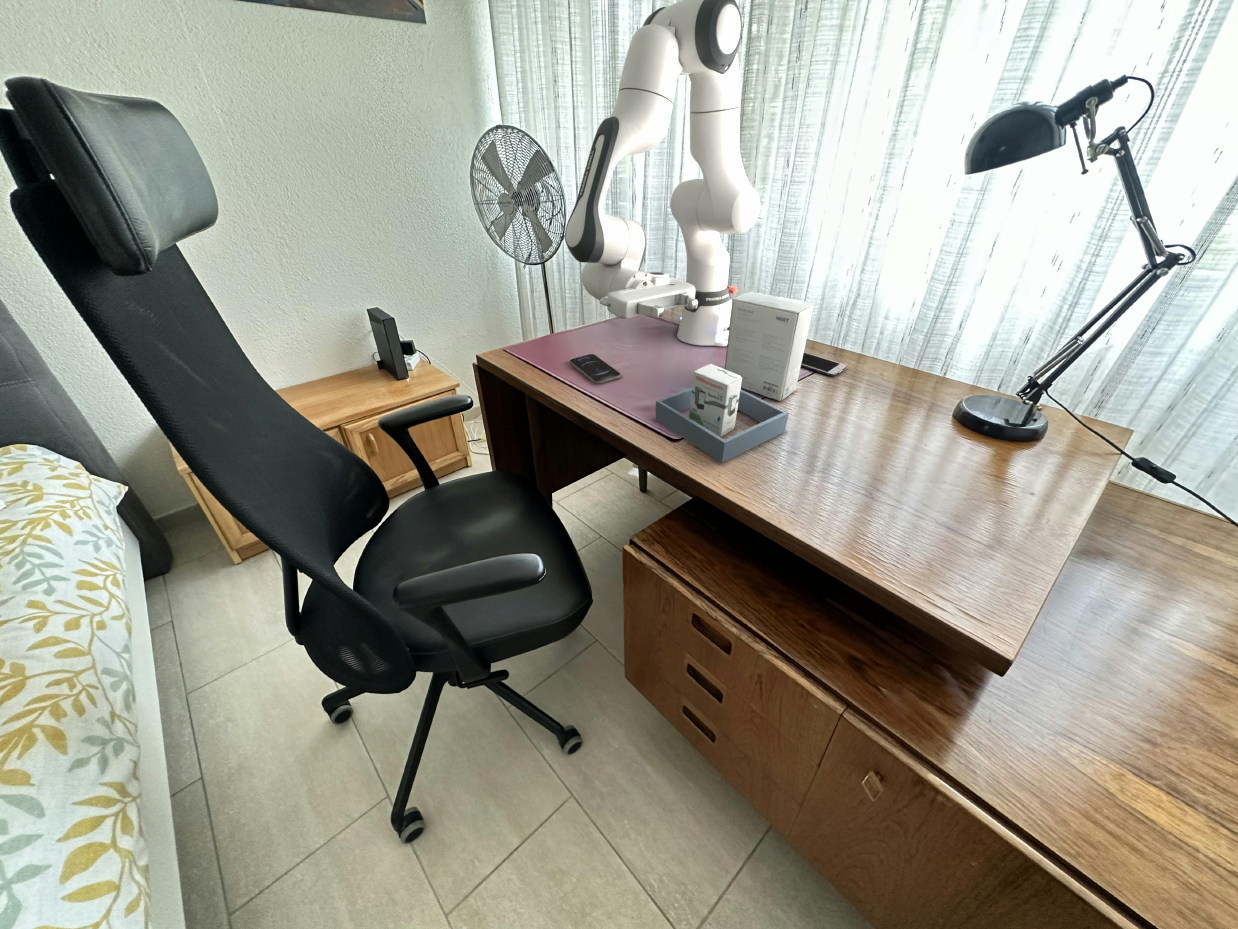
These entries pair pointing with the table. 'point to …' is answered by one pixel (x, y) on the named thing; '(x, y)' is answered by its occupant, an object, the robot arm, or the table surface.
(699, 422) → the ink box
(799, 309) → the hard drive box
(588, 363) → the smartphone
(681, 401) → the tub
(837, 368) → the smartphone
